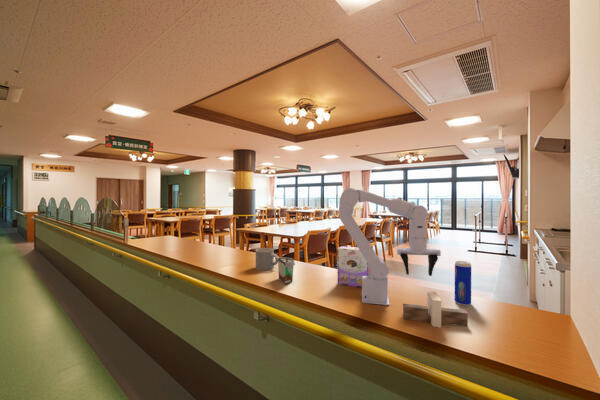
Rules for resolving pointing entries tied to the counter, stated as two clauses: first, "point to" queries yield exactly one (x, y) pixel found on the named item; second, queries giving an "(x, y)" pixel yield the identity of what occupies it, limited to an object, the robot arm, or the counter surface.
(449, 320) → the walnut slotted plate
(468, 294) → the beverage can
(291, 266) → the food container
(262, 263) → the coffee mug
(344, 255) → the candy box
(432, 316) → the cream rectangular block
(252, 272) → the counter surface
